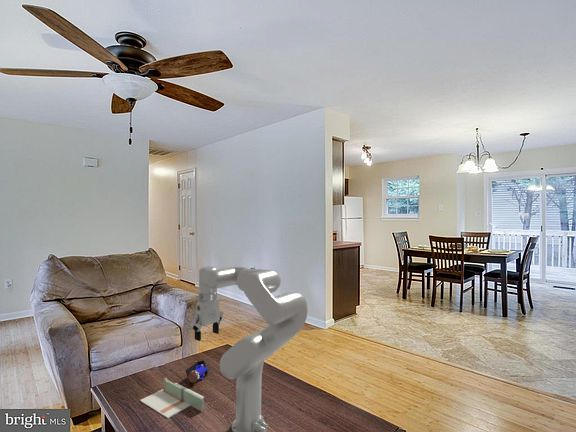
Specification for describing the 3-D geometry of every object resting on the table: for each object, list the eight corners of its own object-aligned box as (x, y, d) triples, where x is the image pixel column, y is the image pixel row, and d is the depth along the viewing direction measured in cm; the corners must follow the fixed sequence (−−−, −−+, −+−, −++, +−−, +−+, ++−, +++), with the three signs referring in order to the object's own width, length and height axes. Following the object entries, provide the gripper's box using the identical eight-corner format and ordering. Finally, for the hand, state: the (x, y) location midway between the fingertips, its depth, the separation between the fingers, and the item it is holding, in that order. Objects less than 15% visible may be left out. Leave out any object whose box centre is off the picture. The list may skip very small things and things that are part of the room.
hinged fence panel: (180, 399, 140) (180, 389, 140) (183, 398, 142) (184, 387, 141) (201, 411, 132) (201, 399, 132) (204, 409, 134) (204, 398, 134)
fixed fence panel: (183, 398, 142) (183, 386, 142) (180, 400, 141) (180, 388, 140) (165, 388, 149) (165, 377, 149) (162, 390, 148) (162, 379, 148)
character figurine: (213, 374, 165) (194, 389, 151) (201, 370, 168) (181, 384, 154) (214, 358, 165) (195, 372, 151) (202, 355, 167) (182, 368, 153)
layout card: (204, 397, 143) (204, 396, 143) (167, 418, 129) (167, 417, 129) (176, 383, 155) (176, 382, 155) (140, 401, 140) (140, 399, 140)
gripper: (197, 302, 129) (196, 345, 129) (229, 293, 143) (228, 332, 143) (185, 298, 133) (184, 340, 134) (217, 290, 147) (216, 328, 148)
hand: (206, 336), depth 139 cm, fingers open, 9 cm apart
